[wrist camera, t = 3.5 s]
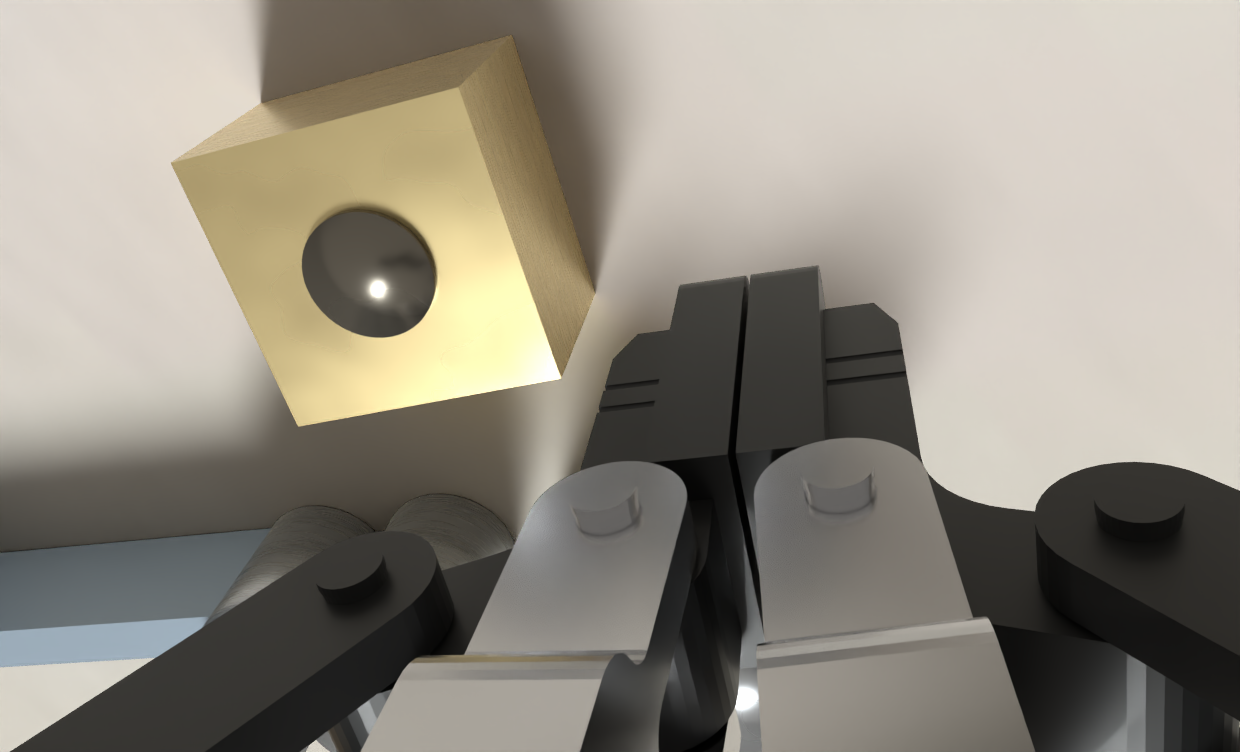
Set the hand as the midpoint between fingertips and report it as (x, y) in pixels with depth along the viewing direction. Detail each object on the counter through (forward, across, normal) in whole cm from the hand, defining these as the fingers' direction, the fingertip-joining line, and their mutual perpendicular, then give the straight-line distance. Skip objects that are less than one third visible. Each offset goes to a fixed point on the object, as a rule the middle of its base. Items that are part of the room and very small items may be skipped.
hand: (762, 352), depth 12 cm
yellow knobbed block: (+8, +6, 0) cm, 11 cm away
